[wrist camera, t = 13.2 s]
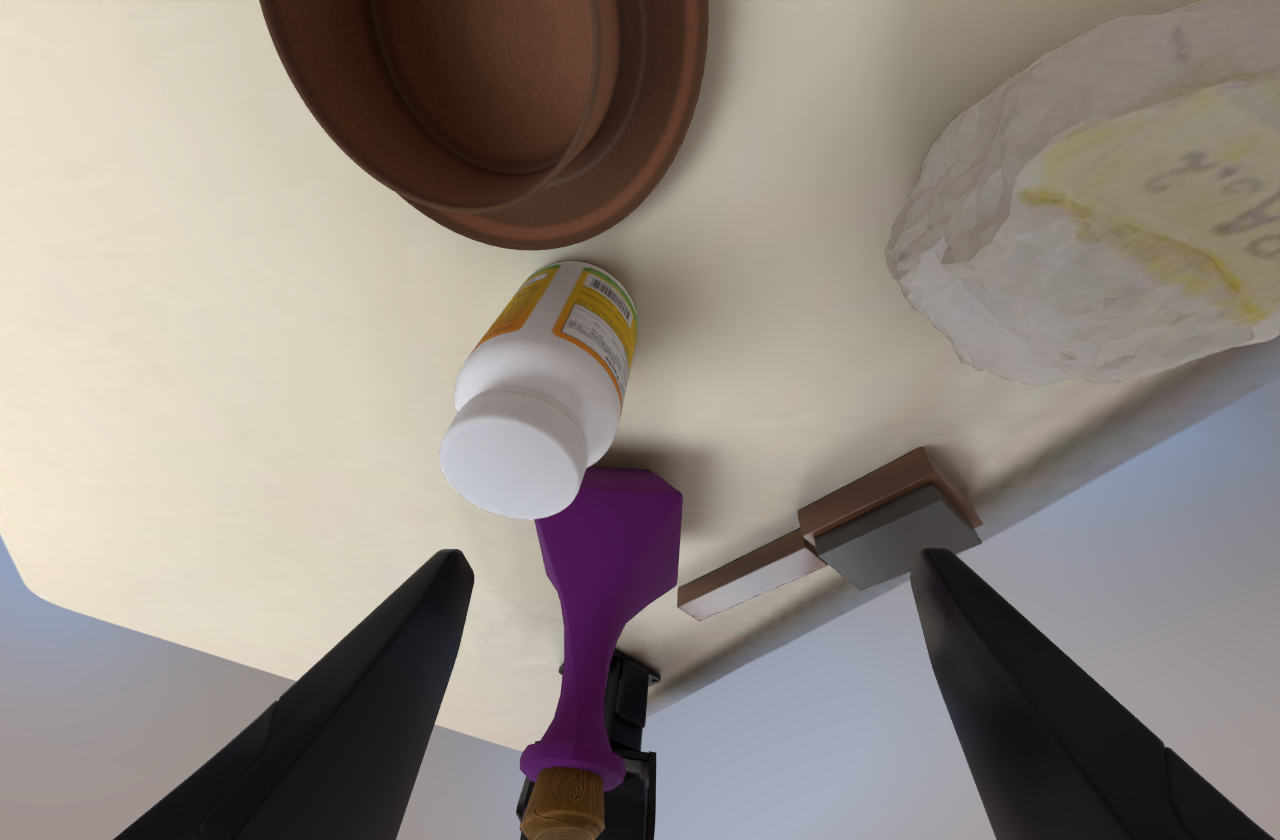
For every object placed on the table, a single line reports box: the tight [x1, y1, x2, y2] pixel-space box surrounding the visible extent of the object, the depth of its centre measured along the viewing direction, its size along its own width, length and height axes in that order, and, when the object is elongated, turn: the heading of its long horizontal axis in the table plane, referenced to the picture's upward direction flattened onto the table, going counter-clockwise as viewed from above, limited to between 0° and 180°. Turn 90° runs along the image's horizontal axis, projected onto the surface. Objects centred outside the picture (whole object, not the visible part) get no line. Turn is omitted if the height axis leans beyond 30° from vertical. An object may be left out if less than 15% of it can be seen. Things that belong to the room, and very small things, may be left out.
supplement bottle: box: [439, 261, 638, 519], centre depth 17 cm, size 5×5×10 cm
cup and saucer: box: [259, 0, 709, 250], centre depth 13 cm, size 12×12×6 cm
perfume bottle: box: [520, 466, 683, 840], centre depth 20 cm, size 8×8×18 cm
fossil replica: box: [885, 0, 1280, 387], centre depth 13 cm, size 12×8×10 cm
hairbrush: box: [677, 448, 983, 621], centre depth 27 cm, size 18×5×3 cm, turn 137°
